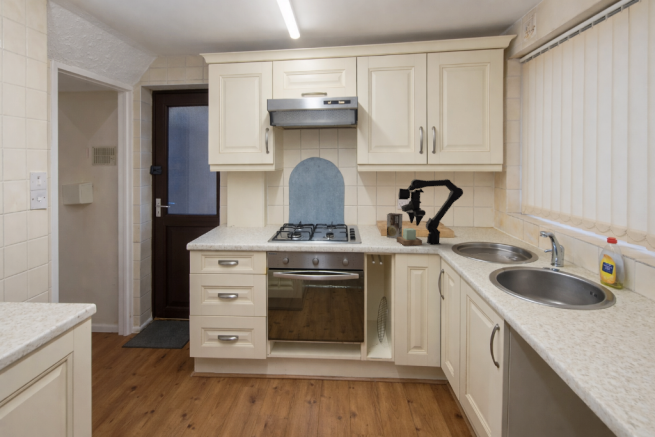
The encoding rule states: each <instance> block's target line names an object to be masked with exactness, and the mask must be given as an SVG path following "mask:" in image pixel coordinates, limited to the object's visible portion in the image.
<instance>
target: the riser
mask: <svg viewBox="0 0 655 437" xmlns="http://www.w3.org/2000/svg"><path fill="white" fill-rule="evenodd" d="M396 242H397V243H399V244H400V245H401V244H402V246H403V247H409V246H422V245H423V239H420V238H419V237H417V236H416V240H406V239H404V238H403V236H402V237H397V238H396Z"/></svg>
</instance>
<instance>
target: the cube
mask: <svg viewBox="0 0 655 437" xmlns="http://www.w3.org/2000/svg"><path fill="white" fill-rule="evenodd" d="M402 237H403V238H404V239H406V240H416V237H417V229H415V228H405V227H404V228H402Z"/></svg>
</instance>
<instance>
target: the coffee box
mask: <svg viewBox="0 0 655 437" xmlns="http://www.w3.org/2000/svg"><path fill="white" fill-rule="evenodd" d="M397 237H403V213H397V212H396V213H394V212H390V213H387V214H386V238H389V239H390V238H391V239H397Z"/></svg>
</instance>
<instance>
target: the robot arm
mask: <svg viewBox="0 0 655 437" xmlns="http://www.w3.org/2000/svg"><path fill="white" fill-rule="evenodd" d="M428 187H446V189H448V190H449V193H448V196H447V199H446V200H445V201H444V202H443V204H442V205H441V207H440V208H439V210H438V211H437V213H436V214H435V215H434V217H432V218H431V217H429V218H428V220H427V221H426V222H425V229H426V231H427V232H428V234H427V236H426V237H427V238H426V243H427V244H429V245H431V246H432V245H434V246H435V245H441V243H440V237H441V231H440V230H439V229H438V227H439V225H440V222H441V220H442V219H443V217H444V216H445V215H446V214H447V212H448V211H449V209H450V208H451V206H452V205H453V204H454V202H456V201H458V200H459V199H460V198H461V197H462V196H463V194H464V190H463V189H462V188H461V187H458V186H457V185H456V184H454V183H453V182H452V181H451V180H450V179H448V178H445V179H431V180H427V179H426V180H425V179H417V178H415V179H412V180H411V182H410V184H409V186H408V188H399V190H398V200H408V203H406V204H403V205H401V206H400V207H401V210H402V212H404V213H406V214H407V215H408V218H409V223H410V224H413V221H414V219H415V225H416V227H419V225H420V223H421V221H423V220H422V219H423V218H424V217H425V216H426V211H425V210H424V209H422V208H421V204H422V201H421V193H425V191H424V190H423V188H428ZM409 199H410V200H409Z"/></svg>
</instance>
